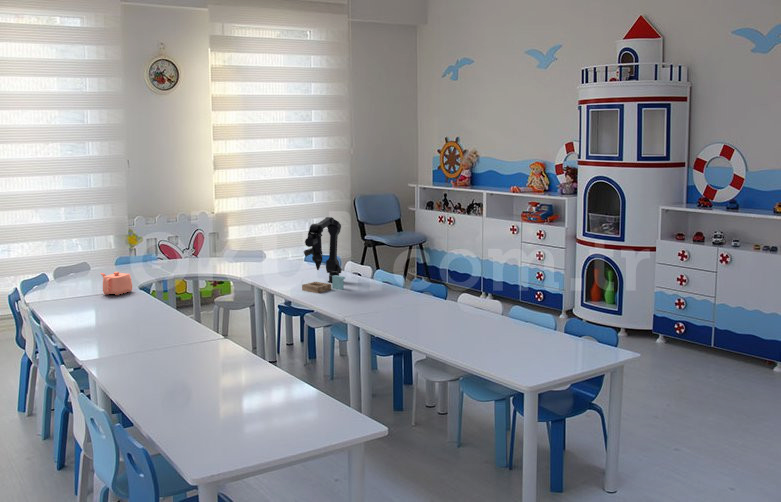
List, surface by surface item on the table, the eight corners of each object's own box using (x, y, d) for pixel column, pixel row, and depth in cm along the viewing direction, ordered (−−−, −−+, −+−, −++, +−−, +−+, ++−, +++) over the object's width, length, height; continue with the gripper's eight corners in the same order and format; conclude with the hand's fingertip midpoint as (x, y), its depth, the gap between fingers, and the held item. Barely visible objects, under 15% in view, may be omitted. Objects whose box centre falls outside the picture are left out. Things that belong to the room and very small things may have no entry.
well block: (315, 286, 495) (315, 281, 494) (331, 289, 486) (331, 284, 485) (302, 290, 486) (301, 284, 485) (317, 293, 477) (317, 287, 476)
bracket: (335, 287, 492) (335, 275, 491) (345, 289, 487) (345, 276, 486) (332, 288, 490) (332, 275, 489) (342, 290, 485) (341, 277, 483)
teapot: (112, 288, 501) (110, 268, 498) (137, 290, 494) (135, 269, 492) (90, 295, 482) (88, 274, 480) (116, 297, 476) (114, 275, 473)
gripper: (304, 242, 492) (305, 265, 495) (303, 247, 474) (304, 272, 477) (321, 241, 493) (322, 265, 496) (321, 246, 474) (322, 271, 477)
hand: (318, 268), depth 486 cm, fingers open, 9 cm apart
